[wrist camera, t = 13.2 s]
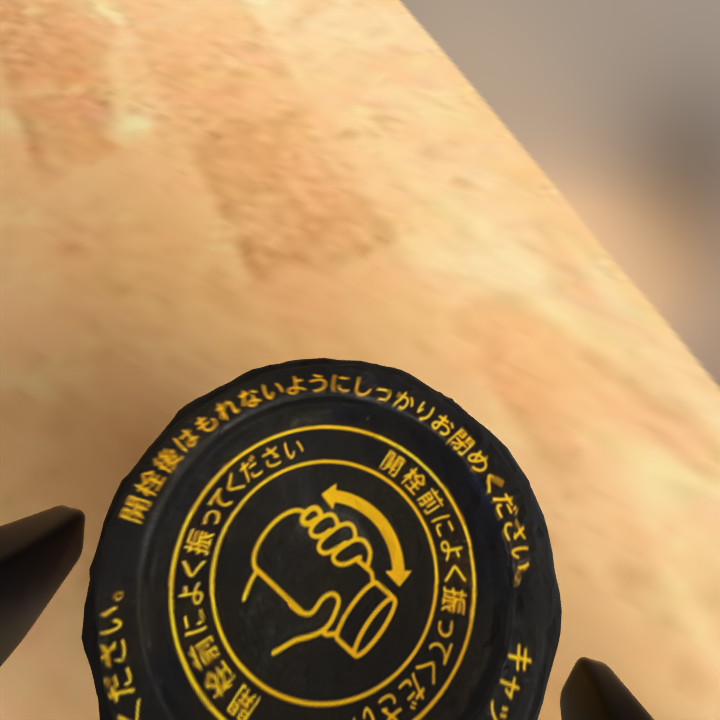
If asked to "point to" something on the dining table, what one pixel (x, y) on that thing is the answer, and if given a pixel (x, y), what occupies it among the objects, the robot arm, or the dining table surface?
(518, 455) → the dining table surface
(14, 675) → the dining table surface
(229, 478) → the condiment
